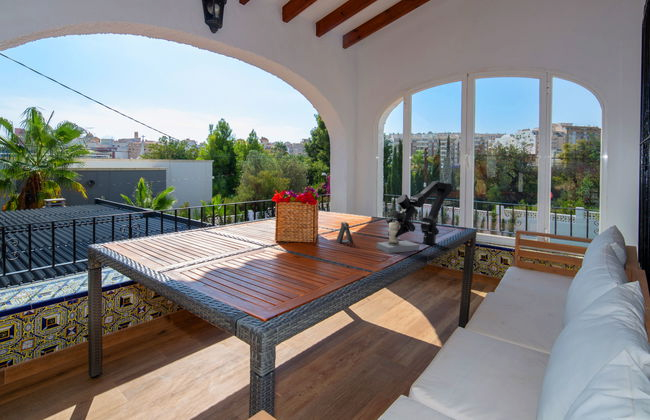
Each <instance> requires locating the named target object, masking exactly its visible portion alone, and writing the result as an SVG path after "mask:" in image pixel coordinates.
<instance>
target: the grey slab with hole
mask: <svg viewBox="0 0 650 420" xmlns="http://www.w3.org/2000/svg"><path fill="white" fill-rule="evenodd" d="M398 242H399V243H398V244H397V245H393V246H392V245H390V243H388V241H385V242H384V241H382V242H376V249H378V250H381V251H383V252H385V253H387V254H392V253H394V254H395V253H403V252H412V251H414V250H415V251H419V250H420V244H418V243H415V242H412V241H410V240H398Z"/></svg>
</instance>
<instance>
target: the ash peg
mask: <svg viewBox="0 0 650 420" xmlns="http://www.w3.org/2000/svg"><path fill="white" fill-rule="evenodd" d="M399 229H400V226H399V223H389V224H388V231H389V235H388V237H389V239H388V241H387V242H388V243H390V245H392V246H393V245H397V244H398V243H399V242H398V241H399V236H398V237H395V235H396V233H397V232H398V230H399Z"/></svg>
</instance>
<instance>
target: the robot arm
mask: <svg viewBox="0 0 650 420" xmlns="http://www.w3.org/2000/svg"><path fill="white" fill-rule="evenodd" d="M452 191H453V185H452V184H451V183H450V182H441V181H439V180H438V181H437V180H436V181H431V182H430V184H428V186H426V187H425V188H424V189H423V190H422V191H421V192H419V193H417V194H414V195H413V196H411V197H410V198H409V196H408V194H405V193H403V194H402V195H400V196H399V197H397V199H396V203H397V204H398V206H399V207H400V209H402V210H400V211H398V210H395V209H393V210H392V212H391V217H386V219H385V222H386V223H387V224H388V225H389V223H399V230H398V232H397V233H396V235H395V237H398V238H399V237H401V236H403V235H404V234H406V233H409V232H413V233H414V232H415V230H416V226H415V225H414V223H413V221H412V217H413V216H414V214H415V215H418V214H419V212H418V208H420V209H421V208H422V207H423V206H424V204H425V203H426V200H427V199H428V198H429V197H430V196H431V195H432V194H433V193H434V192H436V196H435V198H434V201H433V204H432V206H431V208H430V211H429V213H428V214H427V216H426V217H425V216H424V217H423V218H422V219H421V222H420V229H421V233H422V234H423V239H422V241H421V244H424V245H428V246H431V245H432V246H433V245H438V243H437V242H436V238H437V235H439V234H440V233H439V232H440V231H439V229H438V228H437V225H438V224H437V218H438V216H439V213H440V211H441V208H442V206H443V204H444V202H445V199H446V198H447V197H449V196H450V194H451V193H452ZM392 217H394V218H392ZM387 235H388V236H389V230H388V232H387Z"/></svg>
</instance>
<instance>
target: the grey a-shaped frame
mask: <svg viewBox="0 0 650 420" xmlns="http://www.w3.org/2000/svg"><path fill="white" fill-rule="evenodd" d="M340 226H341V227H340V229H339V232H338V234H337V238H336V242H337V243H339V244H348V243H349V244H350V243H351V242H353V243H354V240H353V237H352V233H351V231H350V224H349V223H348V222H346V221H342V222H341V223H340ZM345 236H346V239H344V237H345Z"/></svg>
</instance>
